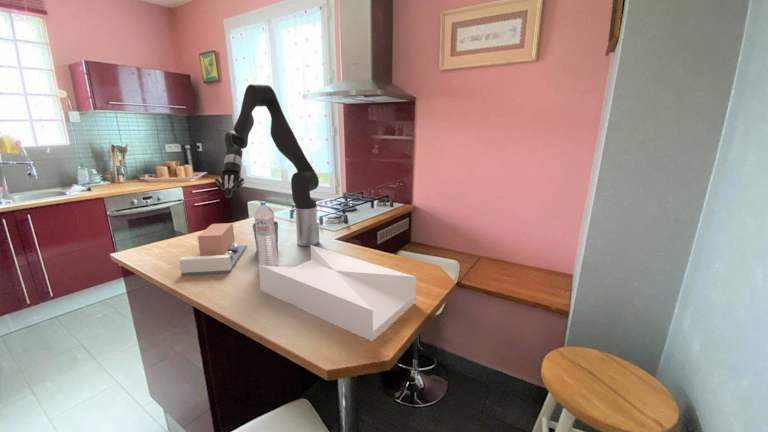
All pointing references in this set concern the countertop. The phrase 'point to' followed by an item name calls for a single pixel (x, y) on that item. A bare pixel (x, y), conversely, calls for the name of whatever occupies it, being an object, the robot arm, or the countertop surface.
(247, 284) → the countertop surface
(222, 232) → the terracotta block
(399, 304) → the building model
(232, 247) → the rear roller
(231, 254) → the front roller
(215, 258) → the grey piece
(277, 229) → the grey pot
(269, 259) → the water bottle
